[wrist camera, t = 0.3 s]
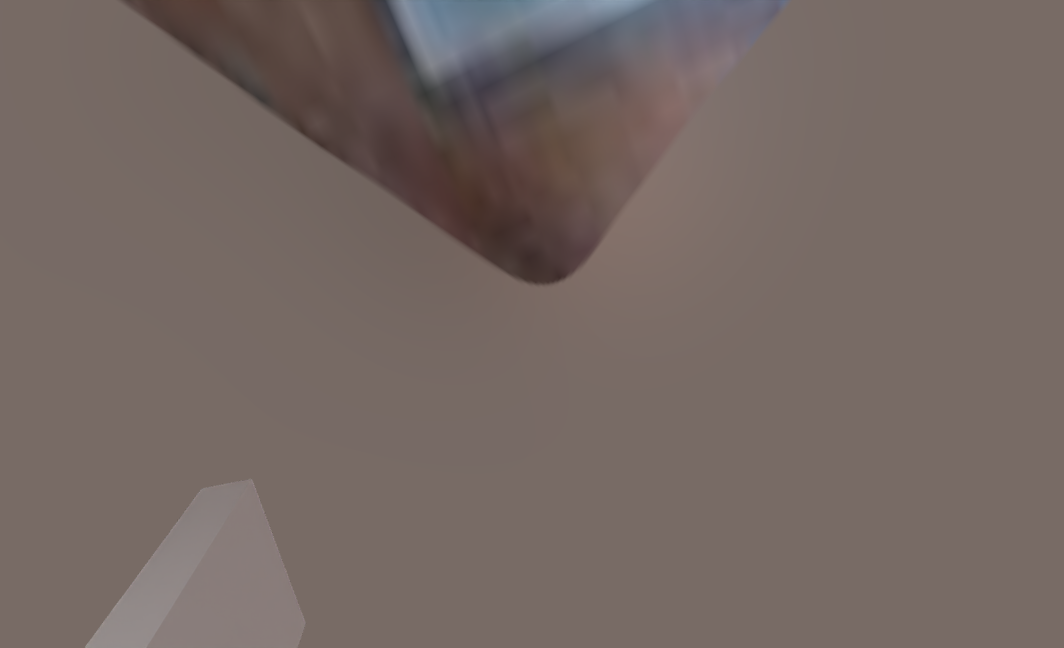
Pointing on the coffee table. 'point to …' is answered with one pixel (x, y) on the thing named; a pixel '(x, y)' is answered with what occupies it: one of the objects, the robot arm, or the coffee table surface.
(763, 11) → the coffee table surface
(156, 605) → the robot arm
